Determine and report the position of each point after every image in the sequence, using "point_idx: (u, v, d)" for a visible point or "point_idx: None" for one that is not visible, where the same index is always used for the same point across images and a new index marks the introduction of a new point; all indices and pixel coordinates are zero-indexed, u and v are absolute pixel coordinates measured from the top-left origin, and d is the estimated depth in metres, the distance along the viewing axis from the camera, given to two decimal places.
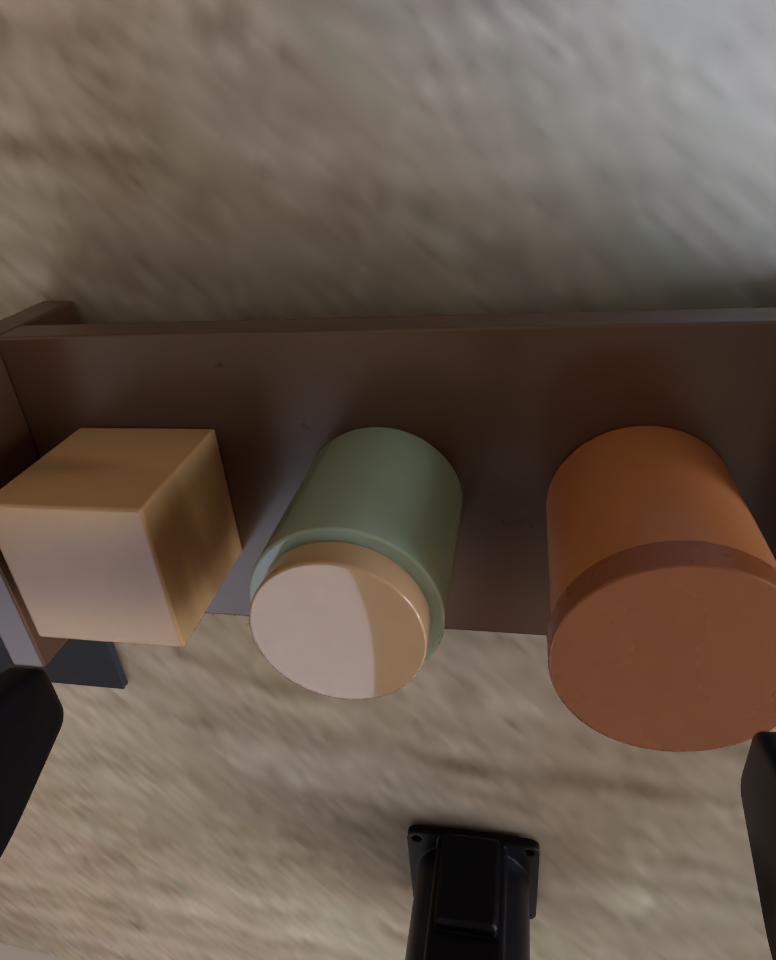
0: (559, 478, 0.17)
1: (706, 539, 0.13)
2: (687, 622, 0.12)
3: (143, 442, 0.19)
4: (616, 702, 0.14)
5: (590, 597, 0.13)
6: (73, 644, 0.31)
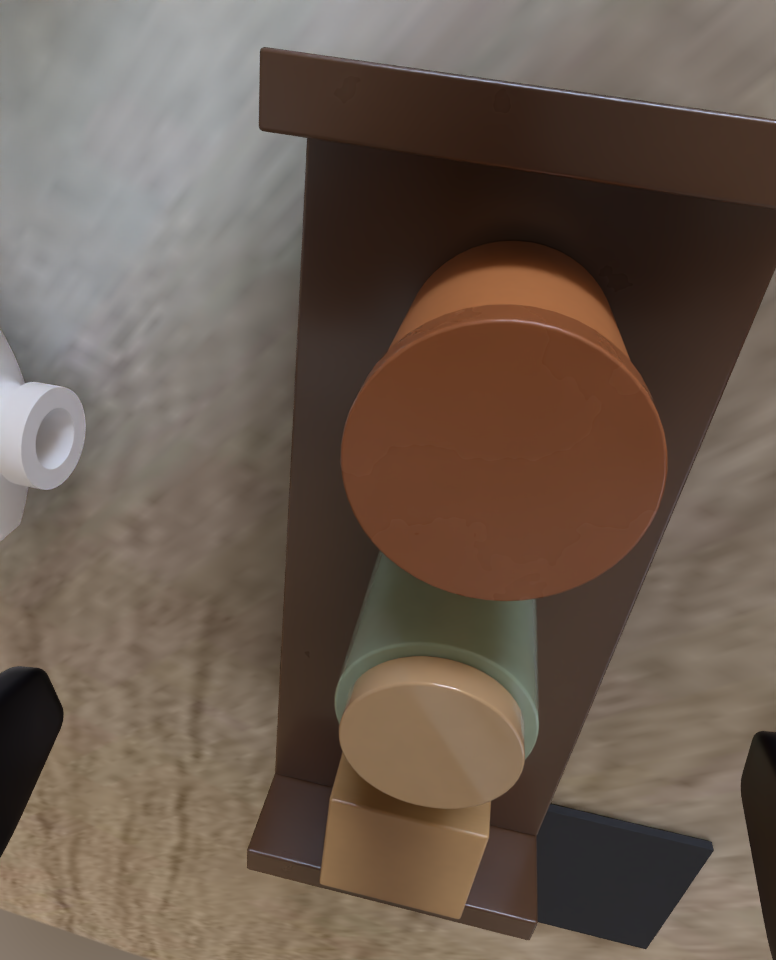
0: None
1: None
2: (422, 464, 0.10)
3: None
4: (550, 546, 0.11)
5: (383, 546, 0.11)
6: (636, 857, 0.30)
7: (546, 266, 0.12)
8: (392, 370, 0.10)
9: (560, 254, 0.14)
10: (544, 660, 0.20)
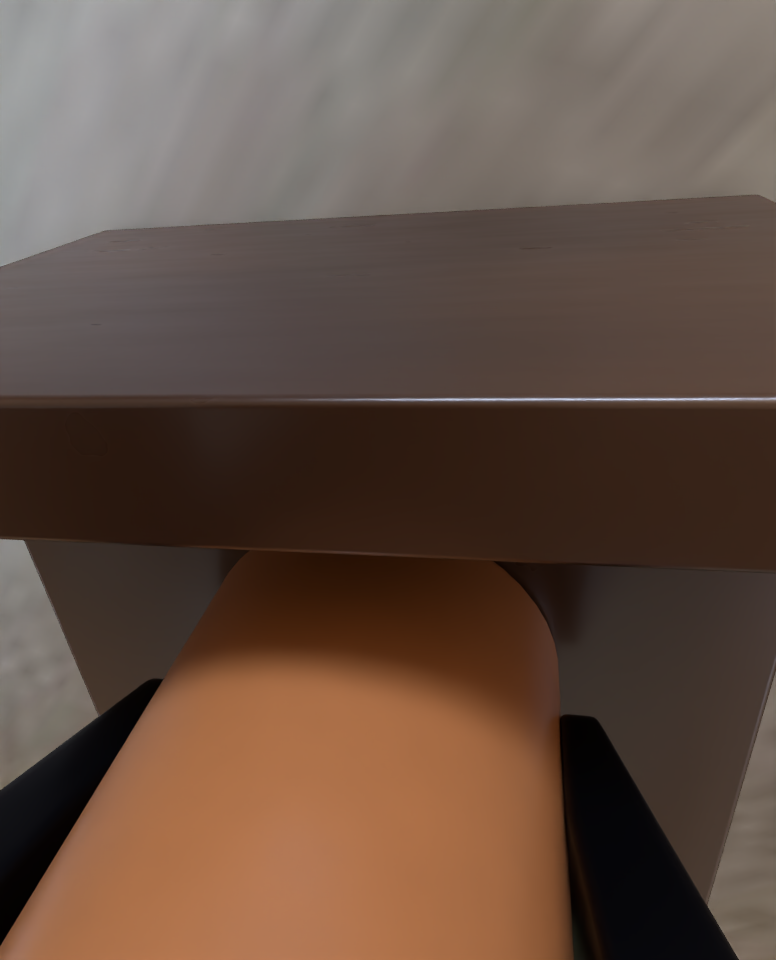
0: None
1: None
2: None
3: None
4: None
5: None
6: None
7: (352, 628, 0.06)
8: None
9: None
10: None
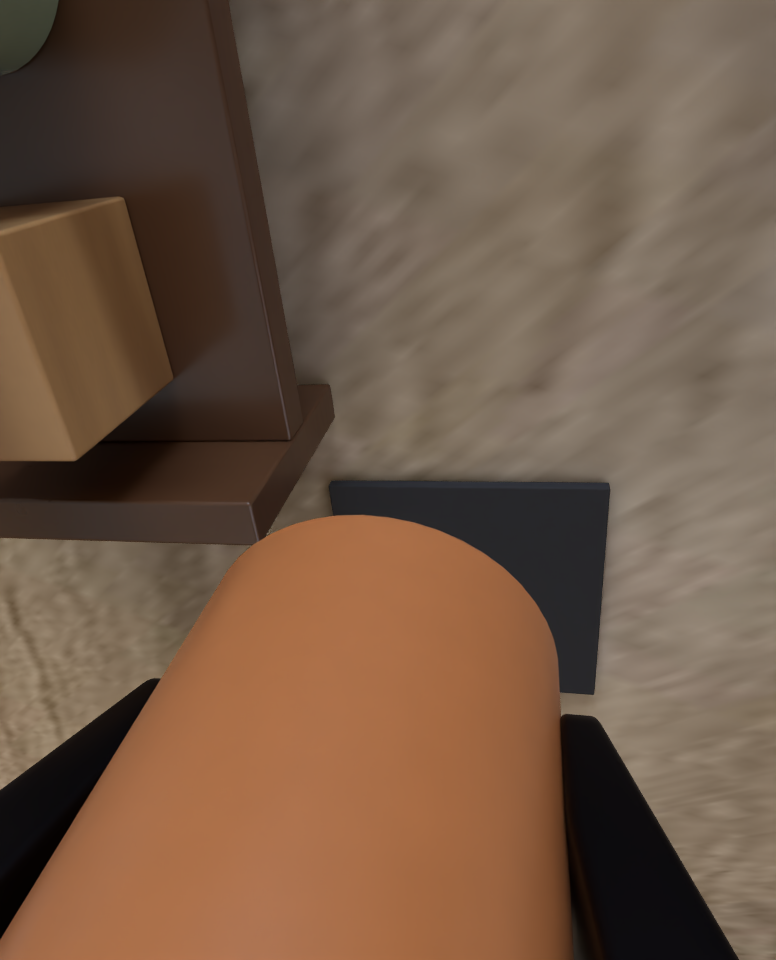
0: None
1: None
2: None
3: None
4: None
5: None
6: (519, 533, 0.22)
7: (350, 627, 0.06)
8: None
9: (410, 539, 0.08)
10: (132, 61, 0.13)
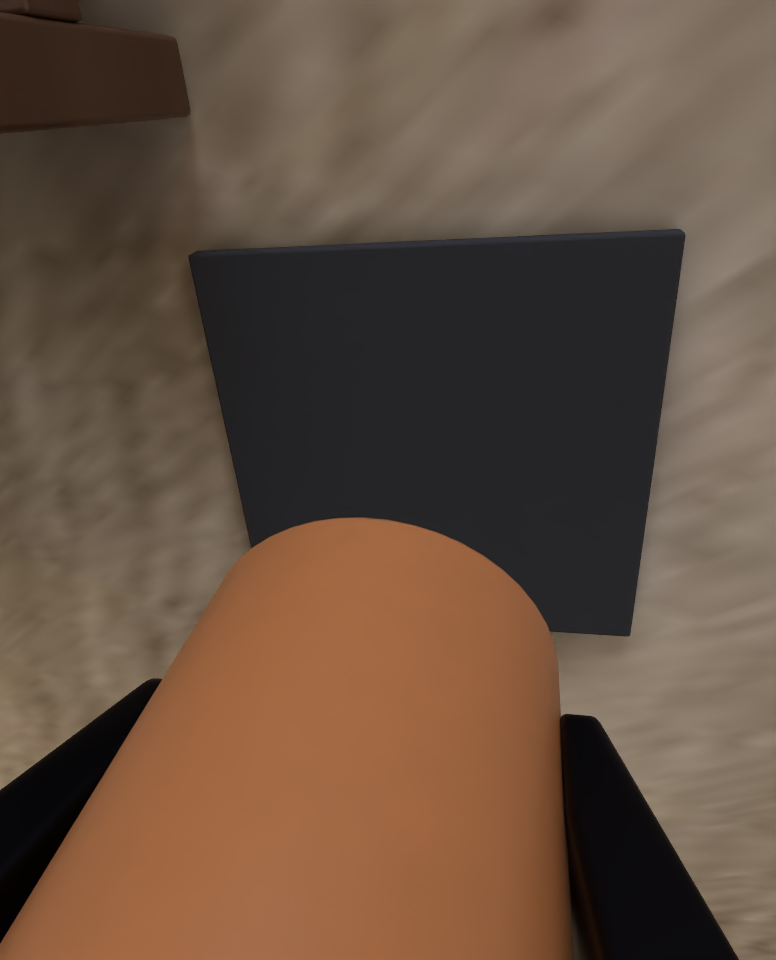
0: None
1: None
2: None
3: None
4: None
5: None
6: (517, 338, 0.12)
7: (349, 630, 0.06)
8: None
9: (410, 542, 0.08)
10: None
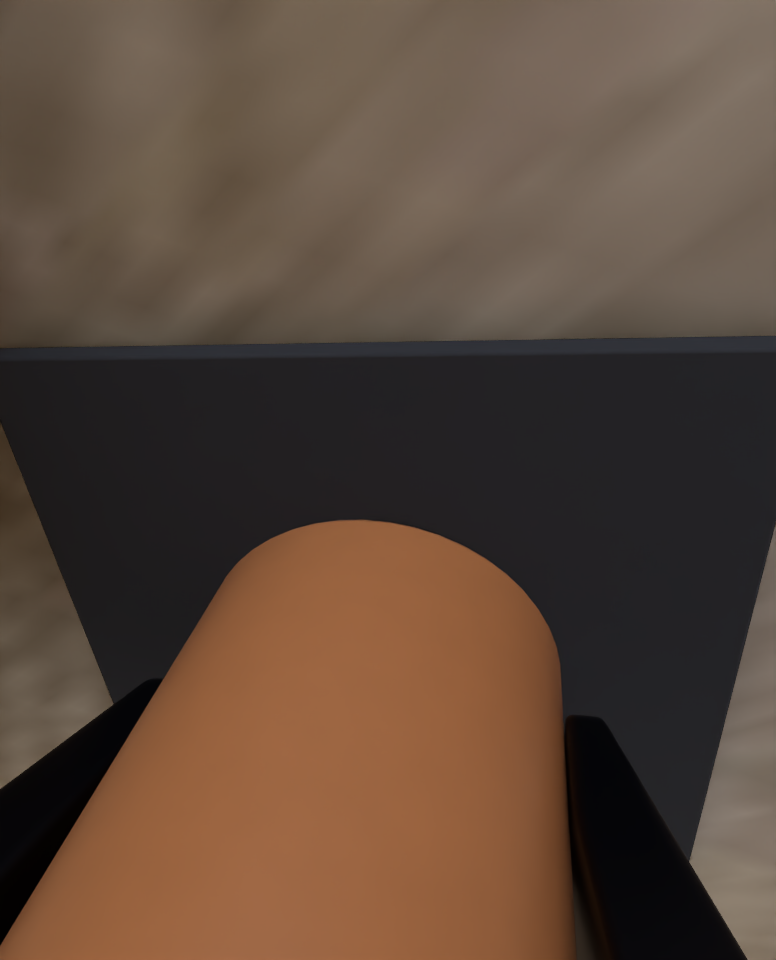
0: None
1: None
2: None
3: None
4: None
5: None
6: (514, 501, 0.07)
7: (351, 634, 0.06)
8: None
9: (411, 545, 0.08)
10: None
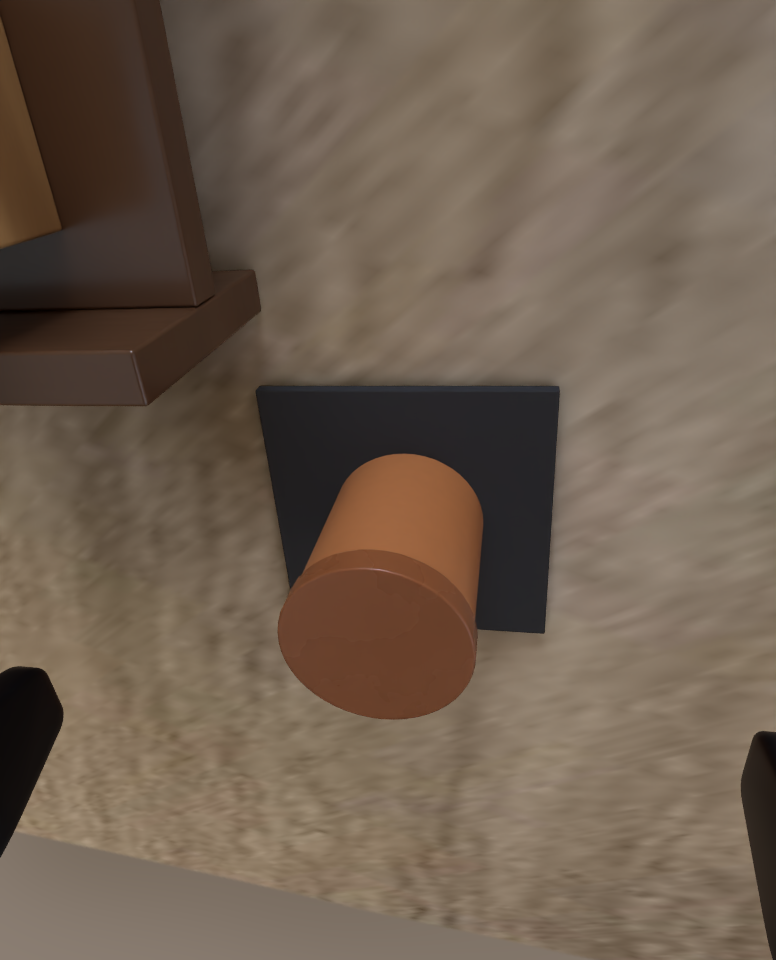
0: None
1: None
2: (328, 647, 0.17)
3: None
4: (420, 684, 0.17)
5: (321, 694, 0.18)
6: (462, 445, 0.20)
7: (405, 485, 0.19)
8: (295, 600, 0.16)
9: (424, 461, 0.20)
10: None
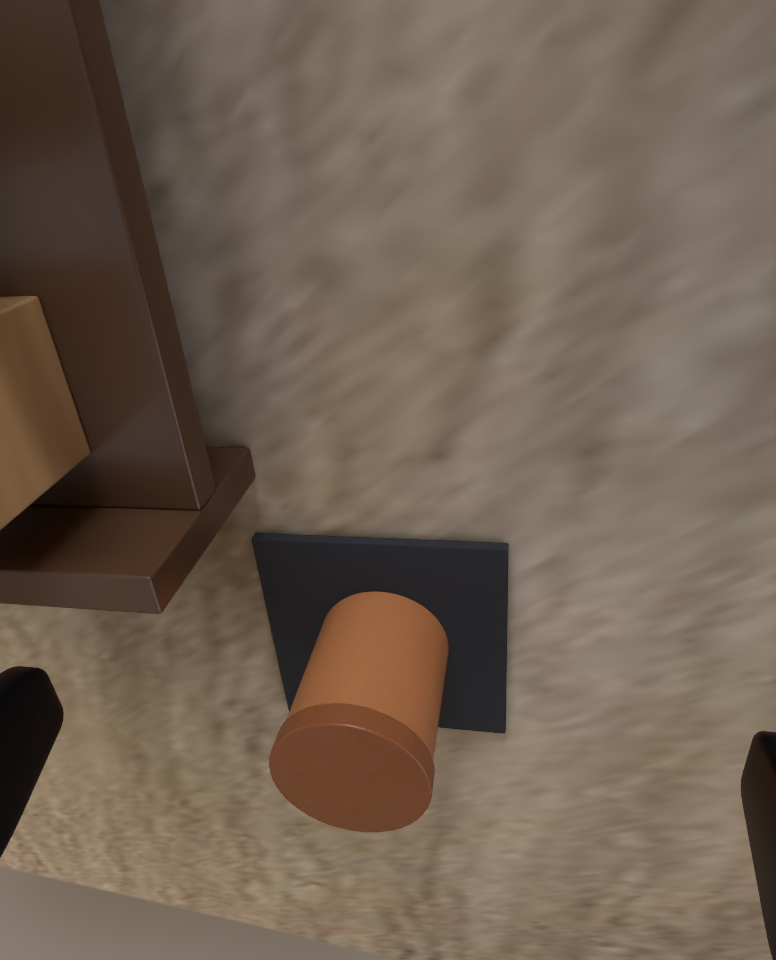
0: None
1: None
2: (311, 778, 0.20)
3: None
4: (388, 808, 0.20)
5: (306, 810, 0.21)
6: (428, 587, 0.23)
7: (377, 629, 0.22)
8: (282, 743, 0.20)
9: (395, 601, 0.23)
10: (40, 182, 0.15)
